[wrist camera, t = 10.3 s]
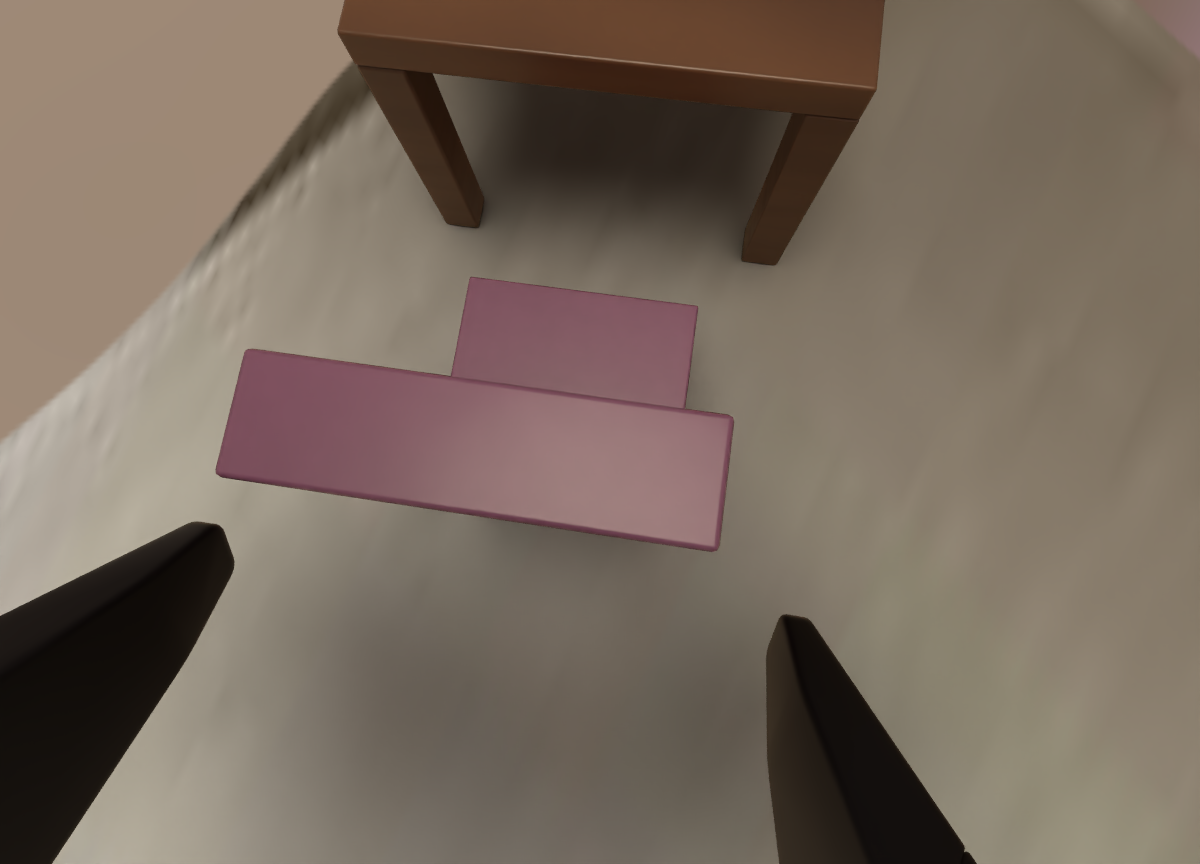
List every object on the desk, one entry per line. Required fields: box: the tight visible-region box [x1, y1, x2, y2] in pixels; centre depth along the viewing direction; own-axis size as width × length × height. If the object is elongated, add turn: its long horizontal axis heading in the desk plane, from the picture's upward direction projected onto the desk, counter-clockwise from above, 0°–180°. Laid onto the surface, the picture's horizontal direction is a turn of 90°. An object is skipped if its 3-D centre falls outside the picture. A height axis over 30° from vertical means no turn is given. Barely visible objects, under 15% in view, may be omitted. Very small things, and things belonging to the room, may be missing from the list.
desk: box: [338, 0, 885, 265], centre depth 18 cm, size 8×12×8 cm, turn 82°
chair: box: [216, 277, 734, 552], centre depth 14 cm, size 6×6×13 cm
